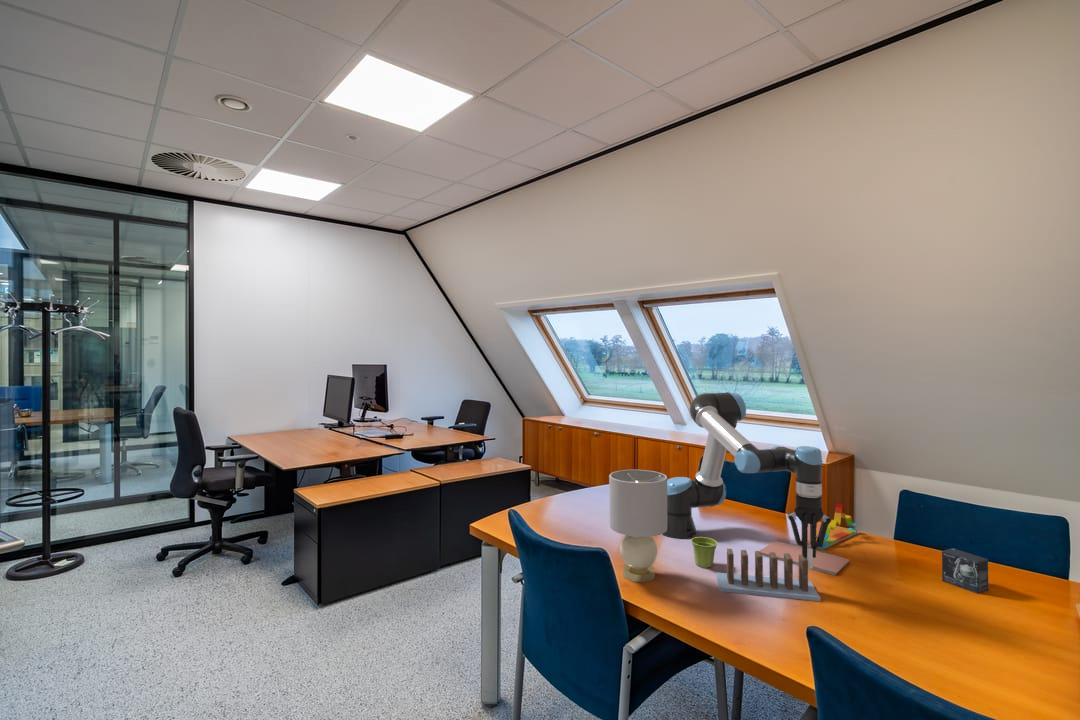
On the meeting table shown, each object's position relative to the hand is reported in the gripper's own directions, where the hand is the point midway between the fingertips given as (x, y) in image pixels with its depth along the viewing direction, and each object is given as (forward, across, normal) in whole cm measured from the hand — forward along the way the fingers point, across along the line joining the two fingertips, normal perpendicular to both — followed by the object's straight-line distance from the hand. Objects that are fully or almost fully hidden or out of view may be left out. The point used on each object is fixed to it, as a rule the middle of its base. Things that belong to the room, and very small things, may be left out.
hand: (808, 566), depth 166 cm
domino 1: (+7, -24, 0) cm, 25 cm away
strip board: (+8, -13, 0) cm, 16 cm away
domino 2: (+7, -20, 0) cm, 21 cm away
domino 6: (+7, -2, 0) cm, 7 cm away
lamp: (+9, -55, 0) cm, 55 cm away
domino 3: (+7, -15, 0) cm, 17 cm away
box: (+9, +51, +17) cm, 55 cm away
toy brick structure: (+9, +24, +53) cm, 59 cm away
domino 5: (+7, -6, 0) cm, 9 cm away
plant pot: (+9, -32, +15) cm, 36 cm away
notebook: (+9, +5, +30) cm, 31 cm away
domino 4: (+7, -11, 0) cm, 13 cm away
